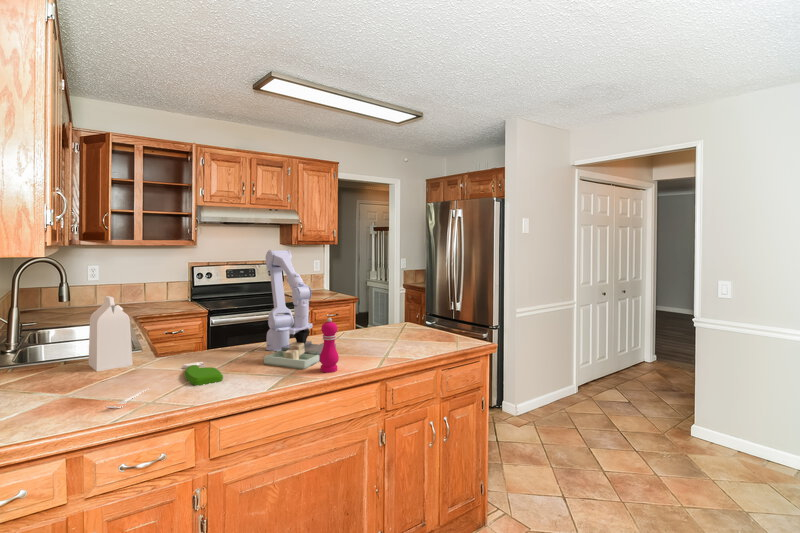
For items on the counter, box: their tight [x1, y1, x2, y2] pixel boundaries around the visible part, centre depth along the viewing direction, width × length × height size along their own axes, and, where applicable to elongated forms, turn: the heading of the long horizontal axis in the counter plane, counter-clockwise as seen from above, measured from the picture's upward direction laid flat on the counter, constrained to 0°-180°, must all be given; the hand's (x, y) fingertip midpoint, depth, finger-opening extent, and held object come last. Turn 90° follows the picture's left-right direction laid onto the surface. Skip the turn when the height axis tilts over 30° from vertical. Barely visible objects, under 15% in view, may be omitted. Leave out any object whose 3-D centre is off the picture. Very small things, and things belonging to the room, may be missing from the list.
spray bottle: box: [182, 361, 224, 386], centre depth 157 cm, size 3×11×24 cm
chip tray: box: [263, 350, 320, 370], centre depth 174 cm, size 18×11×3 cm, turn 71°
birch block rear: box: [290, 341, 305, 356], centre depth 177 cm, size 4×4×4 cm
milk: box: [88, 295, 134, 372], centre depth 166 cm, size 12×12×26 cm
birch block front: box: [284, 349, 299, 360], centre depth 174 cm, size 4×4×4 cm
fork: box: [105, 387, 150, 409], centre depth 133 cm, size 3×20×2 cm, turn 0°
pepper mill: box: [319, 317, 340, 374], centre depth 165 cm, size 7×7×20 cm
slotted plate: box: [281, 340, 337, 358], centre depth 186 cm, size 18×14×4 cm
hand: (301, 348), depth 180 cm, fingers closed
